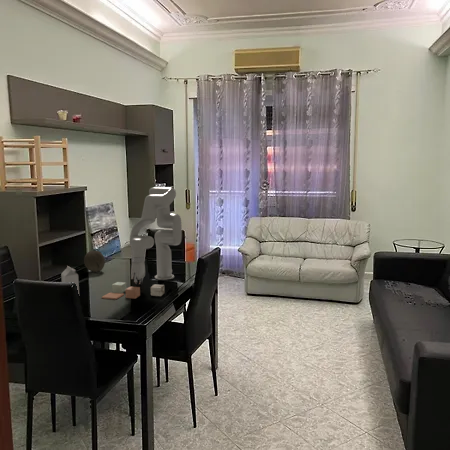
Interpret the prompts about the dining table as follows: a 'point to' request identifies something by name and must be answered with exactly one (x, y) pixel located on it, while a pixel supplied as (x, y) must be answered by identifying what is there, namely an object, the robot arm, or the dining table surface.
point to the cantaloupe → (94, 261)
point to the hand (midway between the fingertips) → (139, 290)
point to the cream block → (157, 290)
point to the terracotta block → (132, 292)
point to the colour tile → (113, 295)
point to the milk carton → (70, 276)
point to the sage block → (119, 287)
